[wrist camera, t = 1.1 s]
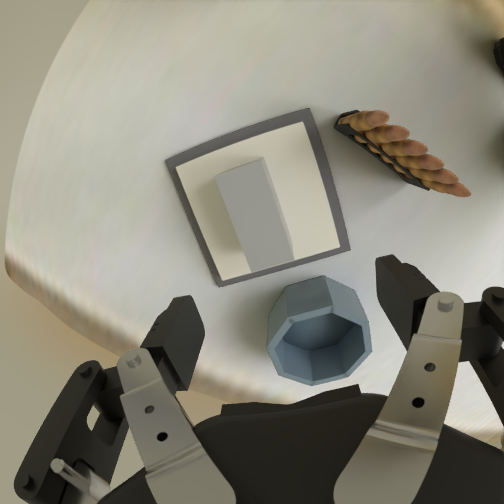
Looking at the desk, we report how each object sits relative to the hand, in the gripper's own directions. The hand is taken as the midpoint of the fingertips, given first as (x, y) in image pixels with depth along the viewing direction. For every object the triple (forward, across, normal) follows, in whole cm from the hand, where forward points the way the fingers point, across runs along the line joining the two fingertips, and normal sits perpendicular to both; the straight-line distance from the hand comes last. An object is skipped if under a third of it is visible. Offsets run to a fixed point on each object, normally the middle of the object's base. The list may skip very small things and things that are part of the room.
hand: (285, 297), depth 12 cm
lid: (+19, +2, 0) cm, 19 cm away
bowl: (+19, -2, +15) cm, 25 cm away
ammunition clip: (+19, -12, -4) cm, 23 cm away
